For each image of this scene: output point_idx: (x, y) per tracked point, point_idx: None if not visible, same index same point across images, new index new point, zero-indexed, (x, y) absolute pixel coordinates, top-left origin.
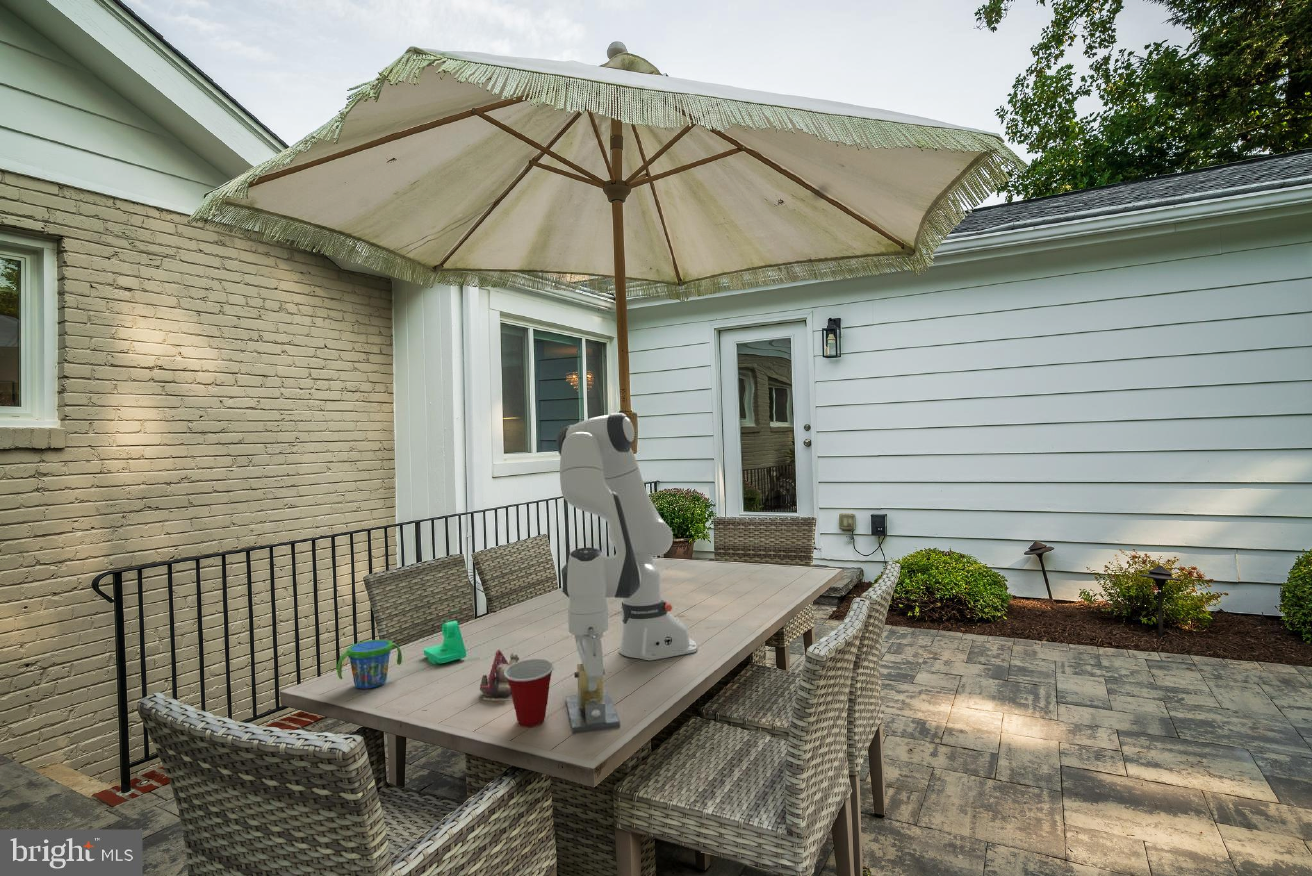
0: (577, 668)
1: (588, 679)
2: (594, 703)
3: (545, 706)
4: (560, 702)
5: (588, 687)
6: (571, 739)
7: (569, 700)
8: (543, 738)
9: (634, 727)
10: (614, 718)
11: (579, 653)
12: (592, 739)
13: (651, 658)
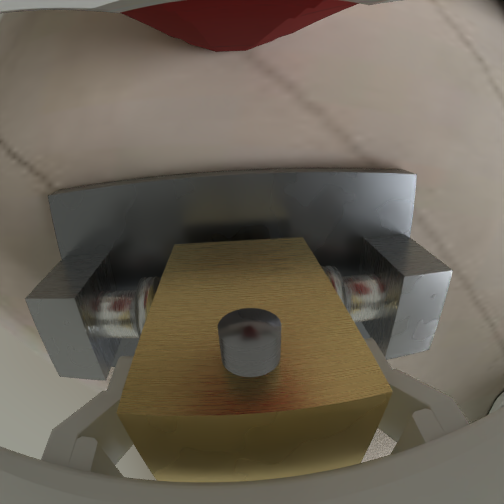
0: (337, 377)
1: (75, 415)
2: (54, 339)
3: (179, 38)
4: (406, 145)
5: (116, 366)
6: (21, 187)
7: (369, 187)
8: (45, 72)
9: (103, 384)
10: (120, 355)
11: (481, 457)
12: (21, 261)
13: (497, 404)
